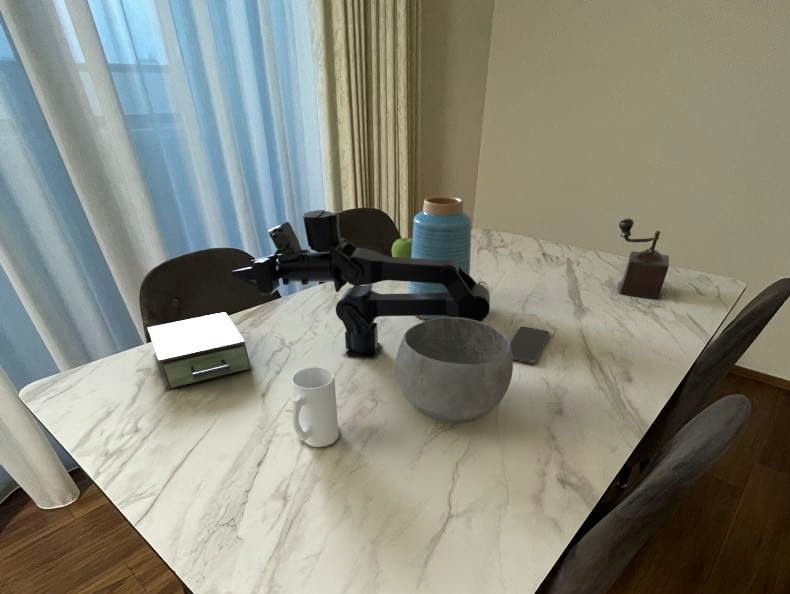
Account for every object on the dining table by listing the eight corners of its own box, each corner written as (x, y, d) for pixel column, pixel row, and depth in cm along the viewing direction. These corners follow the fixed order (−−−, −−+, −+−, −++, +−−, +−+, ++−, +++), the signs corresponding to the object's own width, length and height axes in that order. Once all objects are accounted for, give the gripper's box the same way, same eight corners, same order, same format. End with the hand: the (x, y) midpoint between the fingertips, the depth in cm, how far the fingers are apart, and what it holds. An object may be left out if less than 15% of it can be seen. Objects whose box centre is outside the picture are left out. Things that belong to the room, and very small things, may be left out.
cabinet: (251, 369, 101) (244, 341, 96) (168, 389, 94) (158, 360, 90) (231, 338, 112) (225, 312, 108) (156, 354, 105) (147, 327, 101)
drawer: (254, 377, 96) (250, 356, 93) (175, 397, 90) (167, 376, 87) (230, 339, 109) (225, 320, 106) (160, 354, 103) (152, 334, 100)
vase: (397, 316, 122) (397, 203, 105) (420, 294, 134) (422, 190, 117) (457, 327, 117) (467, 211, 100) (475, 303, 129) (486, 196, 112)
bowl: (476, 458, 78) (486, 380, 69) (375, 419, 87) (372, 345, 77) (521, 400, 92) (534, 329, 82) (430, 371, 100) (433, 304, 91)
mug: (314, 421, 86) (306, 363, 78) (347, 430, 84) (341, 371, 76) (283, 453, 79) (270, 393, 71) (317, 464, 77) (308, 403, 69)
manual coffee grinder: (658, 286, 140) (681, 222, 129) (658, 299, 132) (682, 232, 121) (603, 279, 145) (621, 216, 133) (600, 291, 137) (618, 225, 125)
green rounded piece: (419, 281, 142) (420, 241, 135) (391, 280, 142) (391, 241, 135) (418, 271, 149) (419, 232, 142) (392, 271, 149) (392, 232, 142)
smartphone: (502, 354, 104) (520, 325, 116) (502, 358, 105) (519, 329, 116) (535, 361, 102) (550, 330, 113) (534, 365, 103) (549, 334, 114)
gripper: (320, 217, 100) (251, 219, 103) (289, 233, 85) (210, 235, 87) (327, 271, 106) (262, 272, 109) (300, 295, 91) (225, 295, 93)
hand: (242, 268), depth 99 cm, fingers open, 9 cm apart
